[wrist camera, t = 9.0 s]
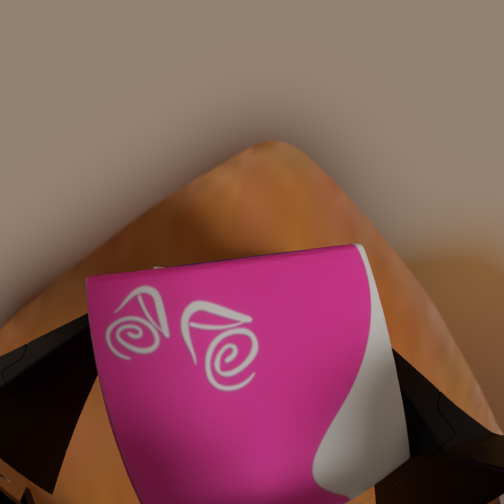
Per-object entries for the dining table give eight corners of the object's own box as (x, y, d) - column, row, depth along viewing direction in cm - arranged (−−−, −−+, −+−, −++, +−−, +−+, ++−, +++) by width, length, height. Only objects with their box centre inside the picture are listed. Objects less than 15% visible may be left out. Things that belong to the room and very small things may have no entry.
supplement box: (229, 312, 16) (372, 236, 6) (252, 409, 14) (416, 465, 4) (129, 328, 14) (75, 268, 3) (153, 431, 12) (180, 576, 2)
